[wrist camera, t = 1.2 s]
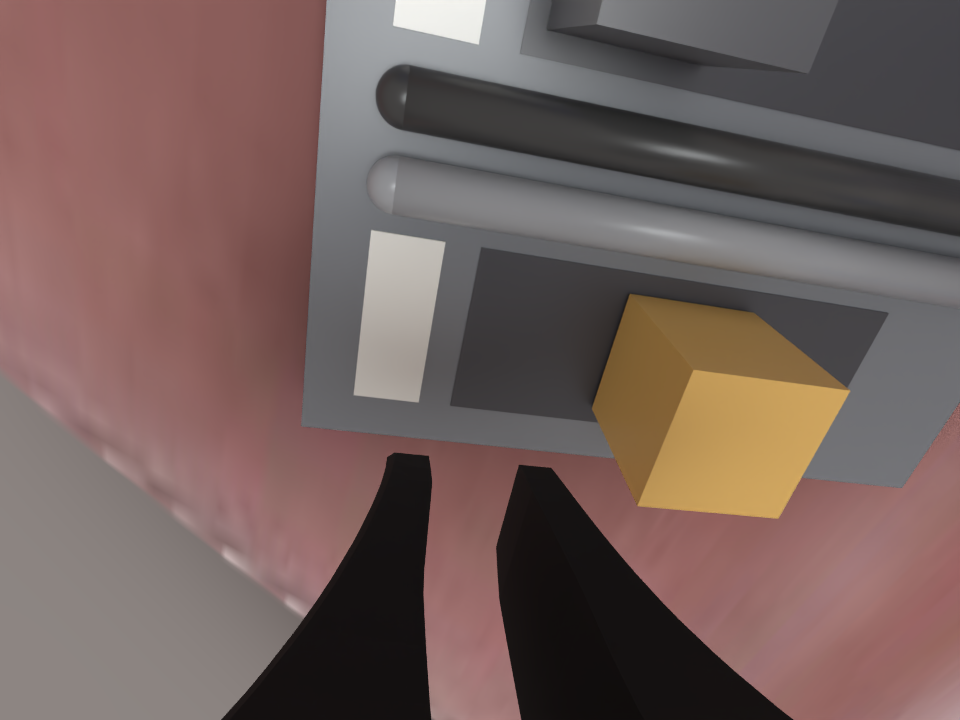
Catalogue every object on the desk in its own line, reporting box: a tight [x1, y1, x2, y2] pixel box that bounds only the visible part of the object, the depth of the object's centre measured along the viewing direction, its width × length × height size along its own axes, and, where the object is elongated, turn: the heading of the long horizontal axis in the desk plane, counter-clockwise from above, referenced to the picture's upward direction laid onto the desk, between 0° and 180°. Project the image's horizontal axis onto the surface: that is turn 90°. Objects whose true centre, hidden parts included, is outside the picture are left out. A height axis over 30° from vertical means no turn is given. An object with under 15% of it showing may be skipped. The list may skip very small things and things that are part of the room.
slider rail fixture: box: [301, 0, 960, 488], centre depth 15 cm, size 22×18×6 cm
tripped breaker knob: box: [592, 294, 850, 519], centre depth 16 cm, size 4×4×4 cm
